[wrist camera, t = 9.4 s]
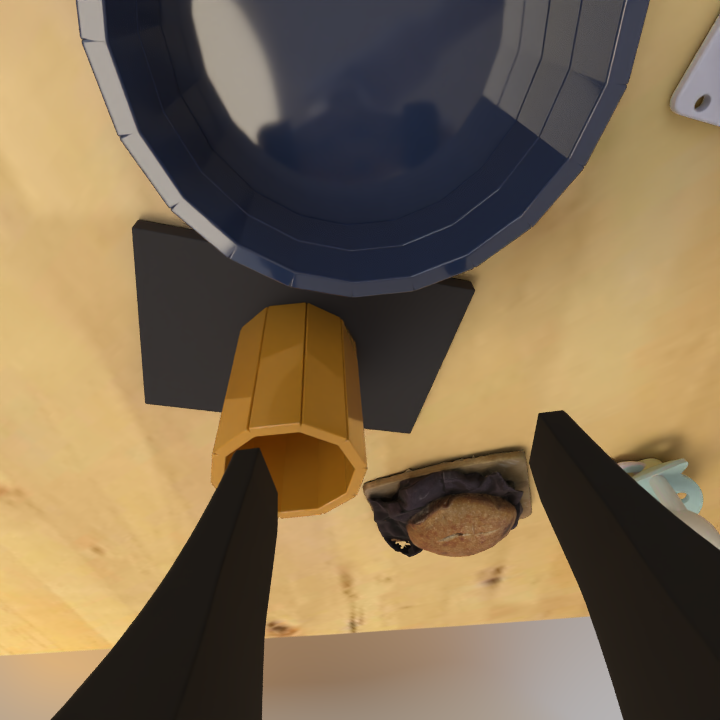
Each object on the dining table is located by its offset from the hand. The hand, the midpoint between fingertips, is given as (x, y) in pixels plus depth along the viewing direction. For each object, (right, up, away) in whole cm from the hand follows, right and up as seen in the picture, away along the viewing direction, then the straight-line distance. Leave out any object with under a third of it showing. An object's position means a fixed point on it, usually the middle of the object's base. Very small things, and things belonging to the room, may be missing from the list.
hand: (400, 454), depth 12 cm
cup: (-4, +3, +9) cm, 11 cm away
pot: (-1, +13, +2) cm, 13 cm away
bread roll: (+5, -7, +19) cm, 21 cm away
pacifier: (+18, -5, +19) cm, 27 cm away
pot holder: (-4, +3, +10) cm, 11 cm away
